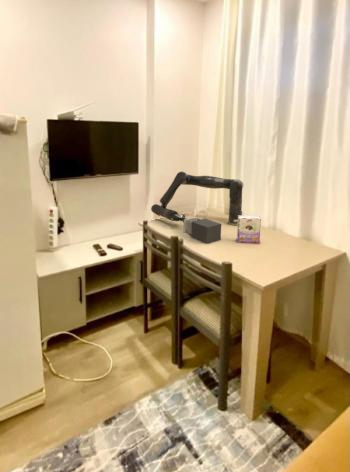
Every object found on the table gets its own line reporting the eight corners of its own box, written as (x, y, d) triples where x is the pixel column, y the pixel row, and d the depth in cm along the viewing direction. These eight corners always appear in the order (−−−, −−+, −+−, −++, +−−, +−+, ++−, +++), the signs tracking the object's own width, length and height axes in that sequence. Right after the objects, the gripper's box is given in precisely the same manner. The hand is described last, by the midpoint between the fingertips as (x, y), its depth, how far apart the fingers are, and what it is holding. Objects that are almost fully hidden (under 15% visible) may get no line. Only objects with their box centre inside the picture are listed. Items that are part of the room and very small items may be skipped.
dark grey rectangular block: (191, 237, 212) (191, 221, 210) (204, 233, 220) (205, 218, 218) (206, 243, 201) (207, 227, 199) (220, 239, 209) (221, 223, 207)
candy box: (258, 240, 209) (259, 215, 206) (259, 243, 203) (261, 218, 200) (236, 239, 210) (237, 214, 207) (237, 242, 204) (238, 217, 201)
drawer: (179, 230, 222) (179, 218, 221) (191, 227, 229) (192, 215, 228) (196, 237, 209) (197, 224, 207) (209, 234, 216) (209, 221, 214)
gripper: (163, 211, 233) (178, 216, 220) (177, 208, 241) (193, 213, 228) (163, 221, 235) (178, 227, 221) (177, 218, 243) (192, 223, 230)
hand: (185, 220), depth 225 cm, fingers closed
